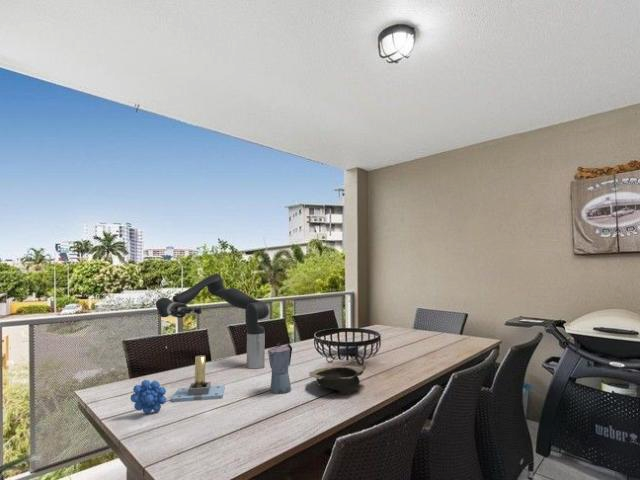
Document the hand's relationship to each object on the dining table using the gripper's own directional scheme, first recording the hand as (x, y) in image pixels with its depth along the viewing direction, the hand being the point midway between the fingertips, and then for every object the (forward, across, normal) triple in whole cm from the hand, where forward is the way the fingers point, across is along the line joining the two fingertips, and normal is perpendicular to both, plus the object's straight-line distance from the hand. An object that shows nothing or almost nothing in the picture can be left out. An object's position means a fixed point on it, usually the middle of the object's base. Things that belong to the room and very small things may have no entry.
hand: (192, 312), depth 171 cm
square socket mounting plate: (+27, +9, -30) cm, 41 cm away
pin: (+27, +9, -29) cm, 41 cm away
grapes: (+32, +31, -30) cm, 54 cm away
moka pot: (+47, -17, -30) cm, 58 cm away
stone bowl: (+62, -36, -30) cm, 78 cm away
